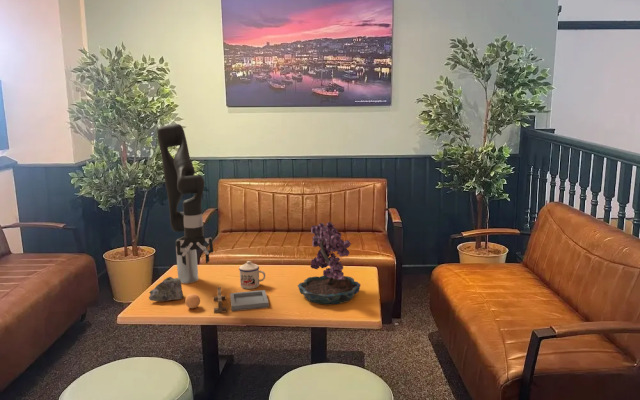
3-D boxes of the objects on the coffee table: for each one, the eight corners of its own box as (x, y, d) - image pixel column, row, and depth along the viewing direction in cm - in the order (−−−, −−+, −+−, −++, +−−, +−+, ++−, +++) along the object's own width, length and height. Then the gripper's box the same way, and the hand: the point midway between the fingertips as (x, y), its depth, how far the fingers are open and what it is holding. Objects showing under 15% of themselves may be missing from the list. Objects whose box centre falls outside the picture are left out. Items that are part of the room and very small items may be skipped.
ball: (183, 307, 226) (182, 294, 224) (196, 304, 229) (195, 290, 228) (189, 311, 221) (188, 297, 220) (203, 308, 225) (202, 294, 224)
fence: (213, 298, 235) (213, 287, 234) (225, 297, 235) (224, 286, 234) (214, 313, 219) (213, 301, 218) (226, 311, 220) (226, 300, 219)
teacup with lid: (237, 288, 246) (235, 264, 244) (243, 282, 255) (242, 258, 253) (263, 289, 244) (261, 264, 242) (268, 283, 253) (267, 258, 250)
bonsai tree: (362, 309, 220) (361, 230, 213) (295, 309, 221) (292, 231, 214) (359, 279, 254) (358, 211, 248) (301, 280, 255) (298, 212, 249)
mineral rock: (148, 303, 231) (146, 281, 229) (158, 294, 242) (156, 273, 240) (177, 304, 230) (175, 281, 228) (186, 295, 240) (184, 273, 238)
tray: (230, 297, 235) (230, 293, 235) (265, 294, 238) (264, 289, 238) (231, 311, 221) (231, 306, 221) (268, 307, 224) (268, 302, 223)
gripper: (174, 228, 214) (177, 268, 217) (211, 225, 217) (214, 265, 220) (175, 224, 221) (178, 262, 224) (211, 221, 224) (213, 259, 227)
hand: (196, 263), depth 222 cm, fingers open, 8 cm apart
